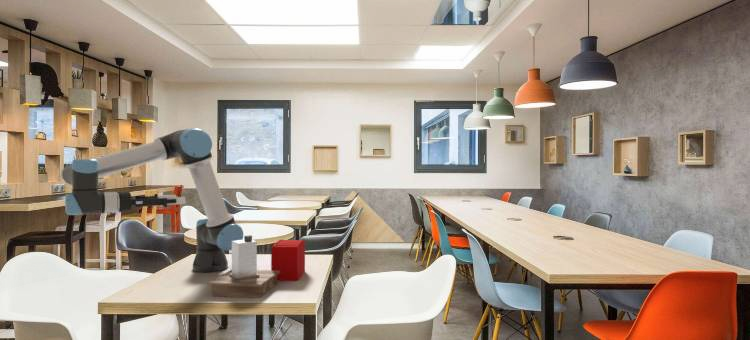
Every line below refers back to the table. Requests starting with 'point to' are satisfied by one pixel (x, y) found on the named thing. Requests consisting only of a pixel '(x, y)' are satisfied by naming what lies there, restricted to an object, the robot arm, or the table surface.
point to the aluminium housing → (244, 259)
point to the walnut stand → (244, 284)
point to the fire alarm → (288, 259)
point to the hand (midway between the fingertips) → (180, 199)
